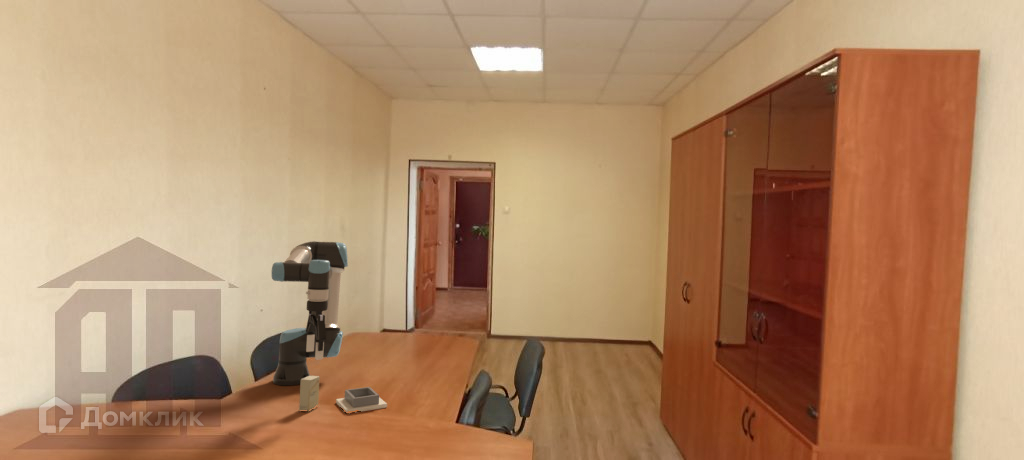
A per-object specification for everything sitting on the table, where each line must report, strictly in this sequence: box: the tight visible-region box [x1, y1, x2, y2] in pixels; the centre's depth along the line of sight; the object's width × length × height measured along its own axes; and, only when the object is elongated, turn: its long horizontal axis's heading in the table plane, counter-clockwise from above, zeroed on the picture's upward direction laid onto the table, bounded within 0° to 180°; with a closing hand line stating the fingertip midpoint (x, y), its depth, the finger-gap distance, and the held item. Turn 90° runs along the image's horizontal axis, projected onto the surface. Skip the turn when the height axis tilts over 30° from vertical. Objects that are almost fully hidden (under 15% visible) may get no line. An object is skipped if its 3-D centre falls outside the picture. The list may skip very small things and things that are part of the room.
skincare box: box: [298, 374, 320, 411], centre depth 185 cm, size 6×4×12 cm
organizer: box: [335, 386, 388, 412], centre depth 192 cm, size 14×16×5 cm
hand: (314, 355), depth 185 cm, fingers open, 13 cm apart
